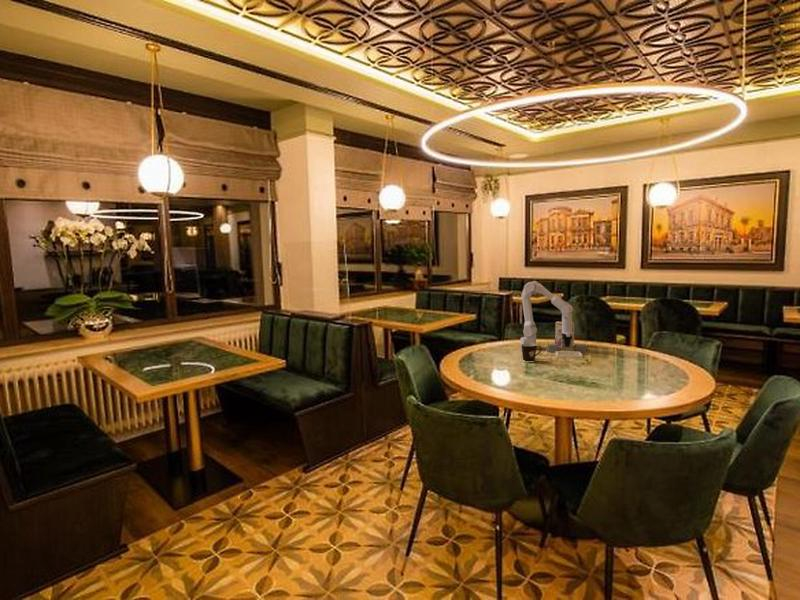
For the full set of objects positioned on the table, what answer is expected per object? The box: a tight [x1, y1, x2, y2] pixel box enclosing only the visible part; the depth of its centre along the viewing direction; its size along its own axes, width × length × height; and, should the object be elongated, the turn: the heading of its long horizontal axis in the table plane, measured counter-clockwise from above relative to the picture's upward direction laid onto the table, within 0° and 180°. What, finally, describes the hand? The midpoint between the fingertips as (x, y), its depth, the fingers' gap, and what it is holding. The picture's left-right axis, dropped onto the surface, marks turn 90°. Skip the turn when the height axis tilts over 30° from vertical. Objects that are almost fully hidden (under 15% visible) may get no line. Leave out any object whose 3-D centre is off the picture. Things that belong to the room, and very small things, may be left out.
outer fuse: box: [574, 343, 587, 354], centre depth 284 cm, size 6×4×4 cm, turn 77°
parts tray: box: [555, 350, 584, 359], centre depth 277 cm, size 14×10×2 cm
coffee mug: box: [521, 343, 543, 361], centre depth 270 cm, size 12×9×10 cm
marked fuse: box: [560, 340, 572, 349], centre depth 286 cm, size 6×4×5 cm
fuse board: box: [545, 346, 590, 354], centre depth 286 cm, size 25×6×4 cm, turn 77°
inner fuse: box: [547, 343, 560, 354], centre depth 288 cm, size 6×4×4 cm, turn 77°
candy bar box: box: [554, 321, 575, 347], centre depth 303 cm, size 11×5×16 cm, turn 58°
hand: (566, 346), depth 286 cm, fingers closed on marked fuse, 4 cm apart
